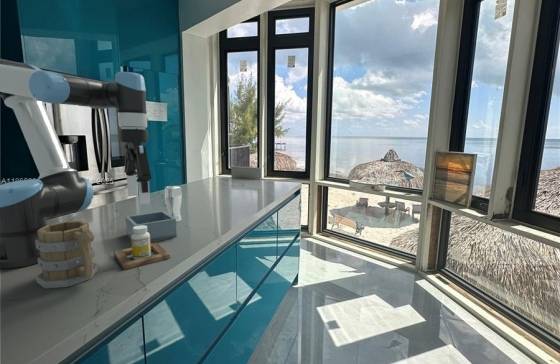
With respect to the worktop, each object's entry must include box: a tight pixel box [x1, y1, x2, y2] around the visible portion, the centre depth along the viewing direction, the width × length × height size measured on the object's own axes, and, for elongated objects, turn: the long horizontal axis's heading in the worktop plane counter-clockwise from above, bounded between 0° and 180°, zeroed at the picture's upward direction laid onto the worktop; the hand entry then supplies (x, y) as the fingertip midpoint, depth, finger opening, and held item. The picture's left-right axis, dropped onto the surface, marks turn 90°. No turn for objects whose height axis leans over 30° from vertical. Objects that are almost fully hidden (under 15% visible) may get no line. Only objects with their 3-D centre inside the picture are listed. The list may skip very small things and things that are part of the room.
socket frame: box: [113, 241, 171, 270], centre depth 92 cm, size 13×13×1 cm
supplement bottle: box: [130, 225, 152, 260], centre depth 91 cm, size 5×5×10 cm
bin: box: [125, 210, 178, 243], centre depth 110 cm, size 14×14×7 cm
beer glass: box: [164, 185, 183, 223], centre depth 129 cm, size 7×7×15 cm
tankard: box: [35, 220, 100, 290], centre depth 75 cm, size 20×13×15 cm, turn 56°
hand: (138, 199), depth 89 cm, fingers open, 13 cm apart
